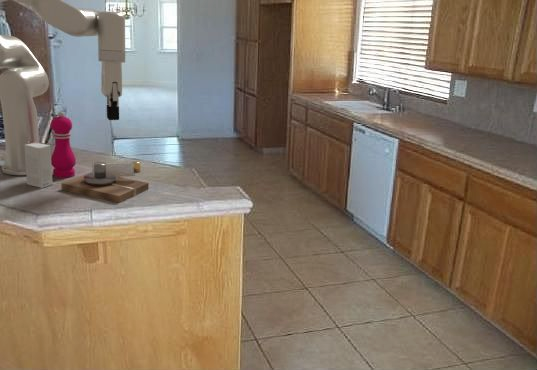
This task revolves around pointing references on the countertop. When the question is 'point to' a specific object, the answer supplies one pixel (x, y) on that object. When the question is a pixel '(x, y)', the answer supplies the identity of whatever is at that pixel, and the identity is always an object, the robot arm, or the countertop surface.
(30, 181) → the skincare box
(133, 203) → the countertop surface
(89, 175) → the dial
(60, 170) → the pepper mill
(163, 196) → the countertop surface
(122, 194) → the walnut board
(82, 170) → the countertop surface
